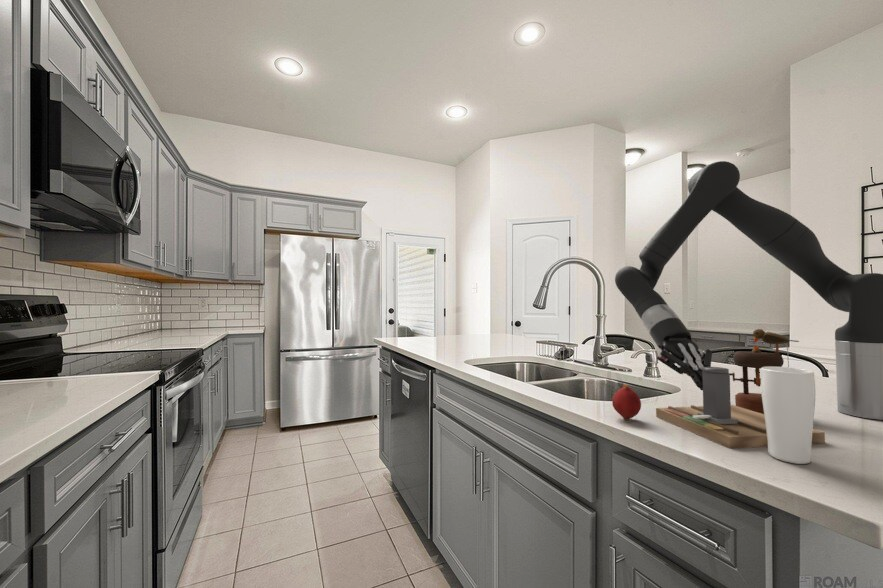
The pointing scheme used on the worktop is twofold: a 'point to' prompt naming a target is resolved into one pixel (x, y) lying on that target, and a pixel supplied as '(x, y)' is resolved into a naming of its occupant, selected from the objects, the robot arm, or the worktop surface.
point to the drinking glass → (788, 412)
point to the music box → (757, 368)
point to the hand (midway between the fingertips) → (707, 388)
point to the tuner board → (726, 426)
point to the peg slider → (716, 396)
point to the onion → (626, 402)
